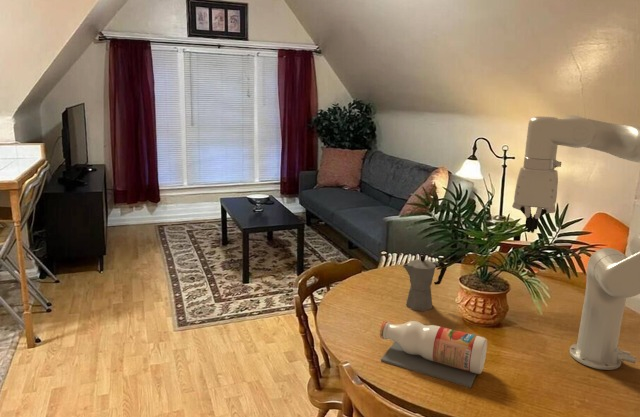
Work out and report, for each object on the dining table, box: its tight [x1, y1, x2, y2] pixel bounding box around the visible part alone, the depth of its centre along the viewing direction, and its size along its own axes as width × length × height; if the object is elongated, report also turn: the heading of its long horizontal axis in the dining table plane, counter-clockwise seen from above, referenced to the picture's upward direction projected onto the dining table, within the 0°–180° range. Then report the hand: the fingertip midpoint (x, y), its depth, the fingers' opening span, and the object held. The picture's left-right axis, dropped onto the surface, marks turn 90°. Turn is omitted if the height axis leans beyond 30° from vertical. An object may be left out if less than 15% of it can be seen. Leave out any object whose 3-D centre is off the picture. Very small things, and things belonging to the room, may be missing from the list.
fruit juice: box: [379, 320, 488, 375], centre depth 132 cm, size 9×9×28 cm
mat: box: [380, 341, 478, 389], centre depth 133 cm, size 24×16×1 cm, turn 61°
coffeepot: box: [402, 255, 448, 312], centre depth 164 cm, size 15×9×18 cm, turn 99°
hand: (530, 231), depth 132 cm, fingers closed
